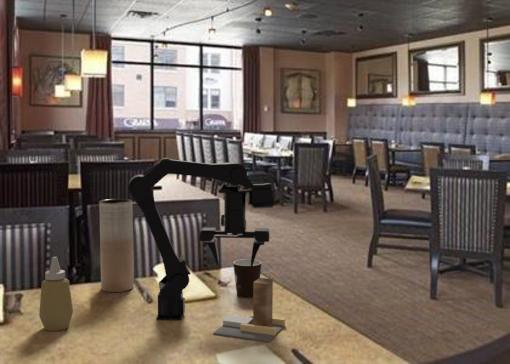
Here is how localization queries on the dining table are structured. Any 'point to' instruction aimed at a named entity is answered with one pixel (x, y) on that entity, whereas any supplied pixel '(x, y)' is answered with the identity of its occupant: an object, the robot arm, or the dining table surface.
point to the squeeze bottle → (55, 299)
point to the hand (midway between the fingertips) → (234, 265)
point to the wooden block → (263, 302)
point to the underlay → (249, 328)
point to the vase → (116, 245)
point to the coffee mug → (246, 276)
